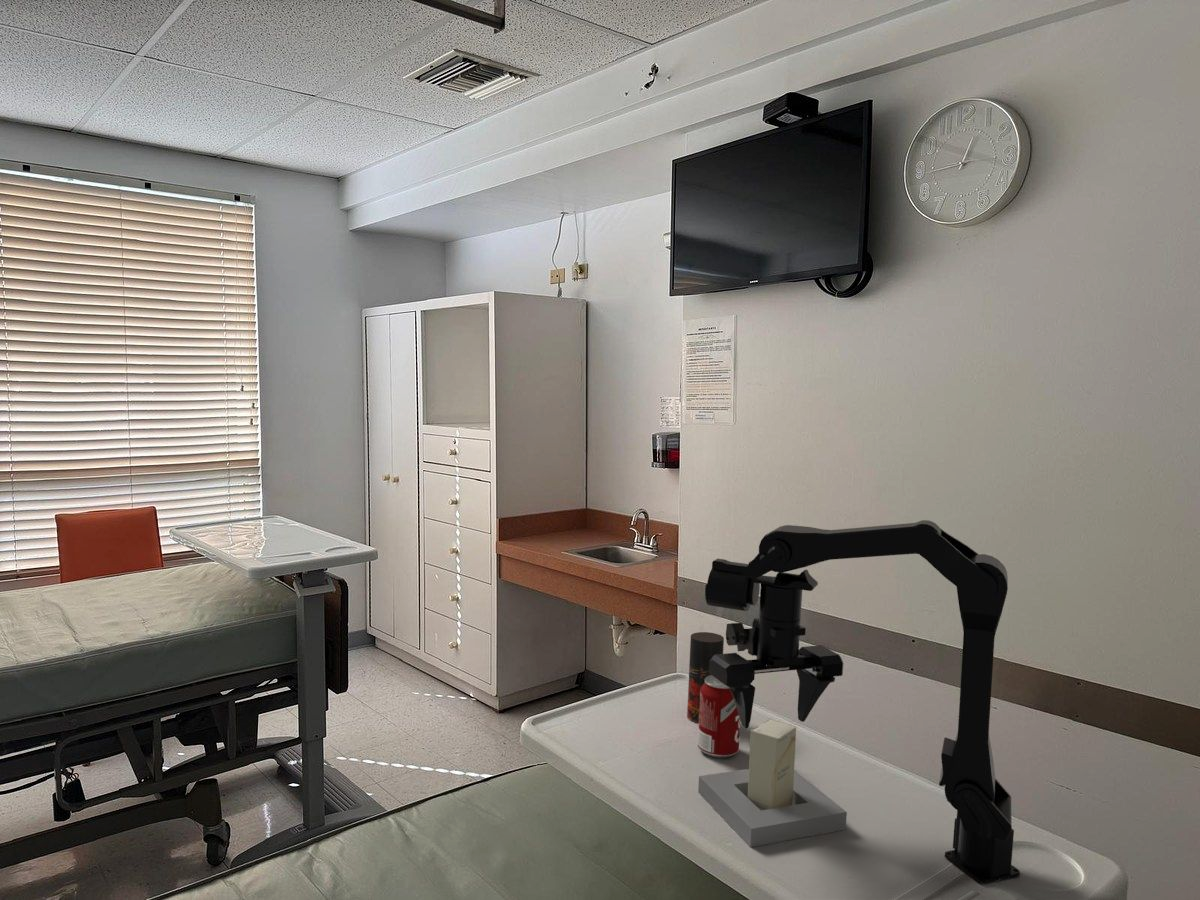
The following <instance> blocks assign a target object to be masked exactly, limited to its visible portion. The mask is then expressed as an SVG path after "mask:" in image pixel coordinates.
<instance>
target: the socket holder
mask: <svg viewBox="0 0 1200 900" xmlns="http://www.w3.org/2000/svg"><path fill="white" fill-rule="evenodd" d="M748 778H749V768H745V769H738V770H732V771H725V772H717V773H711V774H704V775H699V776H698V788H697V789H698V790H697V791H698V792H697V793H698V794H699V795H700V796H701V797H702V798H703V799H704V801H706V802H707V803H708V804H709V805H710V807H711V808H712V809H713V810H714V811H715V812H716V813H717V814H718V815H719V816H720V817H721V818H722V819H723V820H724V822H726V823H727V824H728V826H730V828H731V829H732V830H734V831H735V832H736V834H737V835H738V836H739V837H740V838H741V839H742V840H743V841H744V842H745V843H746V844H747V845H748V846H749V847H750V848H752V847H757V846H762V845H764V846H765V845H768V844H775V843H779V842H785V841H792V840H796V839H800V838H807V837H813V836H818V835H823V834H828V833H834V832H835V833H836V832H840V831H845V830H847V829H846V828H847V815H848V814H847V813H848V812H847V811H846V810H845V809H844V808H843V807H841V806H840V805H839V804H837V802H835V801H834V800H832V799H831V798H830V797H829V796H827V795H826V794H825V793H824V792H823V791H821V790H820V789H819V788H817V787H816V786H815V785H814V784H813V783H811V782H810V780H807V779H806V778H805V777H804V776H802V775H801V774H800V773H799V772H798V771H796V770H795V769H794V784H793V803H792V805H791V806H785V807H779V808H773V809H767V810H762V811H761V810H760V809H759V808H758V807H757V806H756V805H755V804H753V803H752V802H751V801H750V800H749V799H748Z"/></svg>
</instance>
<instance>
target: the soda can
mask: <svg viewBox="0 0 1200 900" xmlns="http://www.w3.org/2000/svg"><path fill="white" fill-rule="evenodd" d="M697 733H698V734H697V748H698V750H700V751H701V752H702V753H704V754H705V755H707V756H709V757H713V758H716V759H725V758H729V757H732V756H734V755H737V753H739V751H740V736H741V721H740V717H739V714H738V711H737V707H736V704H735V701H734V698H733V695H732V693H731V691H730V688H729V687H728V686H726V685H724V684H723V683H722V682H720V681H719V680H718V679H716V678H715V677H714V676H712V675H711V676H708V677H706V678H705V683H704V685H703V686H702V687H701V689H700V708H699V724H698V731H697Z"/></svg>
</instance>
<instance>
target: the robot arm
mask: <svg viewBox="0 0 1200 900" xmlns="http://www.w3.org/2000/svg"><path fill="white" fill-rule="evenodd" d="M915 554H916V555H919V556H921V557H922V558H923V559H924V560H926V561H927V562H928V564H930V565H931V566H932V567H933V568H934V569H935V570H936V571H937V572H938V573H939V574H941V575H942V577H944V578H945V579H947V580H948V581H949V582H950V583H952V584H953V585H954V586H956V593H957V601H958V607H959V613H960V614H959V615H960V619H961V624H962V630H963V631H962V632H963V638H962V653H961V654H962V657H961V674H960V688H959V689H960V690H959V705H958V706H959V707H958V722H957V723H958V724H957V732H956V735H955V736H956V737H955V739H952V738H949V737H943V743H942V748H941V755H940V756H941V769H940V771H941V772H940V775H939V782H938V783H939V784H938V785H939V786H940V787H943V786H944V795H945V799H946V801H947V802H948V803H949V804H950V805H951V806H952V807H953V808H954V809H955V810H956V817H955V818H954V827H953V838H952V840H953V841H952V849H953V850H948V851H944V857H945V858H946V859H947V860H949V861H950V862H951V863H953V864H954V866H955V865H956V867H958V868H959V869H960V870H961V871H963V872H964V873H966V874H967V875H969V876H970V877H971V878H973V880H975V881H976V882H978V883H979V884H983V885H985V884H990V883H993V882H998V881H1003V880H1006V879H1007V880H1008V879H1011V878H1016V877H1020V875H1021V871H1020V870H1019V868H1017V867H1015V866H1014V865H1013V864H1012V861H1013V860H1012V859H1013V848H1014V847H1013V846H1014V833H1015V830H1014V829H1013V828H1012V827H1013V826H1012V823H1013V822H1012V821H1013V820H1012V819H1013V818H1012V815H1013V814H1012V811H1013V810H1012V796H1011V794H1010V793H1009V792H1008V791H1007V790H1006V789H1005V787H1003V785H1002V784H1001V782H1000V781H999V780H997V778H996V772H995V764H994V756H993V749H992V745H991V744H992V743H991V740H990V718H991V704H992V703H991V700H992V687H993V686H992V685H993V683H992V682H993V671H994V670H993V669H994V668H993V667H994V666H993V665H994V654H995V651H994V650H995V639H996V638H995V636H996V632H997V629H998V627H999V623H1000V620H1001V617H1002V614H1003V609H1004V606H1005V601H1006V598H1007V595H1008V589H1009V587H1008V584H1009V580H1008V571H1007V569H1006V567H1005V565H1004V564H1003V562H1001V561H1000V560H999V559H998V558H996V557H994V556H992V555H989V554H985V553H984V554H981V553H978V552H976V551H975V550H974V549H972V548H971V547H970V546H969V545H967V544H966V543H963V542H962V541H961V540H959V539H957V538H955V537H954V536H952V535H951V534H949V533H948V532H946V531H945V530H943V528H941V527H940V526H939V525H938V524H937V523H936V522H934V521H932V520H928V519H927V520H925V519H924V520H920V521H917V522H911V523H910V522H909V523H899V524H898V523H896V524H885V525H874V526H863V527H861V526H860V527H851V528H839V529H822V528H817V527H813V526H805V525H804V526H803V525H793V524H792V525H790V524H786V525H782V526H781V525H780V526H778V527H777V528H775V529H774V530H772V531H769V532H768V533H766V534H765V535H764V536H763V537H762V539H761V540H760V542H759V545H758V553H757V555H756V556H755V557H754V558H753V559H752V560H750V561H748V563H745V562H743V563H742V562H736V561H730V560H727V559H723V558H716V559H714V560H713V561H712V562H711V569H710V572H709V574H708V577H707V583H706V584H705V586H704V587H705V589H704V596H705V597H704V599H705V602H706V604H707V605H708V606H711V607H718V608H723V609H729V610H737V611H742V612H747V611H749V610H750V608H751V606H756V605H757V604H758V601H759V607H758V608H759V609H758V611H759V612H758V617H757V618H756V617H755V618H753V620H752V626H751V628H745V627H744V624H743V623H742V622H735V623H734V622H733V623H726V629H725V642H726V644H727V646H730V647H731V646H736V647H737V652H744V651H746V650H747V654H749V655H750V656H752V657H753V656H755V657H756V658H755V659H746V658H744V657H743V656H741V655H740V654H739V653H737V652H730V653H729V652H728V653H723V654H716V655H714V656H713V657H712V659H711V660H710V664H709V673H710V674H711V675H712V676H714V677H715V678H716V679H718V680H719V681H720V682H722V683H723V684H724V685H726V686H728V687H729V688H730V691H731V693H732V695H733V698H734V701H735V704H736V707H737V711H738V714H739V717H740V725H741V726H742V727H743V728H744V729H745V730H746V729H749V727H750V724H751V719H752V714H753V707H754V706H753V705H754V700H755V692H756V687H755V686H754V685H753V684H752V683H753V682H754V681H755V675H758V674H767V673H777V672H789V671H796V673H797V676H798V680H799V682H798V683H799V684H798V698H797V719H798V720H799V721H800V722H802V723H803V722H805V721H806V720H807V718H808V717H809V715H810V713H811V712H812V710H813V708H814V706H815V705H816V704H817V701H818V700H819V698H820V697H821V696H822V695H823V693H824V692H825V690H826V689H827V688H828V686H829V685H830V684H831V683H835V681H836V677H841V676H843V674H844V661H843V659H842V656H840V654H838V653H836V652H834V651H833V650H831V649H829V648H827V647H825V646H823V645H821V644H819V645H810V646H807V645H806V646H801V647H800V636H801V637H802V636H806V630H807V629H806V627H804V626H802V625H801V617H802V601H803V591H807V592H808V591H809V592H811V591H813V590H814V589H815V588H816V587H818V585H819V582H818V581H817V580H816V579H815V578H814V577H813V576H812V575H811V574H810V573H809V570H808V569H804V570H803V571H801V572H800V573H799V574H798V573H790V571H794V570H795V571H796V570H799V569H803V568H807V567H810V566H812V565H816V564H819V563H824V562H827V561H832V560H833V561H834V560H843V559H844V560H845V559H858V558H873V557H887V556H902V555H915ZM769 572H774V573H777V574H776V575H775V576H772V575H771V576H770V575H769V576H768V575H766V574H767V573H769Z"/></svg>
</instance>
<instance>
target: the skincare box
mask: <svg viewBox="0 0 1200 900" xmlns="http://www.w3.org/2000/svg"><path fill="white" fill-rule="evenodd" d="M749 738H750V739H749V744H750V745H749V761H748V762H749V763H748V769H749V778H748V799H749V800H750V801H751V802H752V803H753V804H755V805H756V806H757V807H758V808H759V809H760V810H761V811H762V810H767V809H773V808H779V807H785V806H791V805H792V803H793V784H794V770H795V761H796V760H795V759H796V757H795V755H796V739H797V726H796V725H793V724H789V723H787V722H784V721H780V720H776V719H773V718H769V719H767V720H765V721H763V722H762V723H760V724H759V725H757V726H755V727H754V728H753V729H751V730H750V737H749Z"/></svg>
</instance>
